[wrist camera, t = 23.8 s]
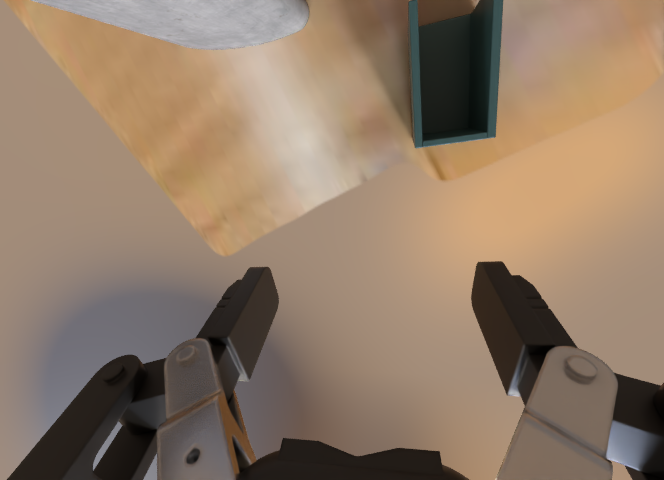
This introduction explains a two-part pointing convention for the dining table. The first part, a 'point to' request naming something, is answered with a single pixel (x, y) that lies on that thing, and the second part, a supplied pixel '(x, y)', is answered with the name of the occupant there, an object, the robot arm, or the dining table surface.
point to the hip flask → (197, 19)
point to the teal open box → (455, 75)
